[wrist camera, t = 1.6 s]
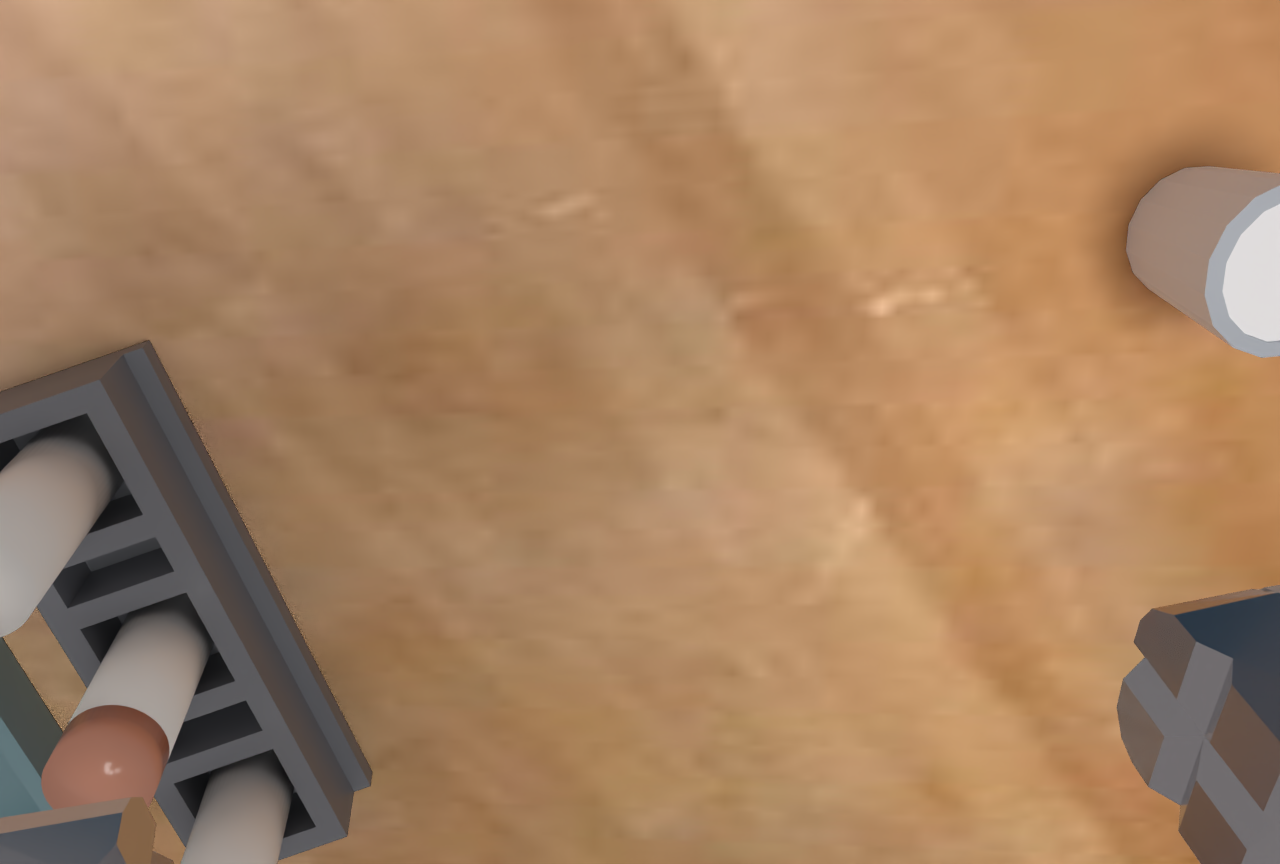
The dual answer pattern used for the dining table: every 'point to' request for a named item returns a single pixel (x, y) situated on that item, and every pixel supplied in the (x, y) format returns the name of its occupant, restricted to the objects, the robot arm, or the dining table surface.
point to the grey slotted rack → (190, 595)
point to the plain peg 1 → (49, 511)
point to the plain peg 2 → (242, 813)
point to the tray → (22, 740)
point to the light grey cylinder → (1214, 252)
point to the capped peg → (131, 709)
